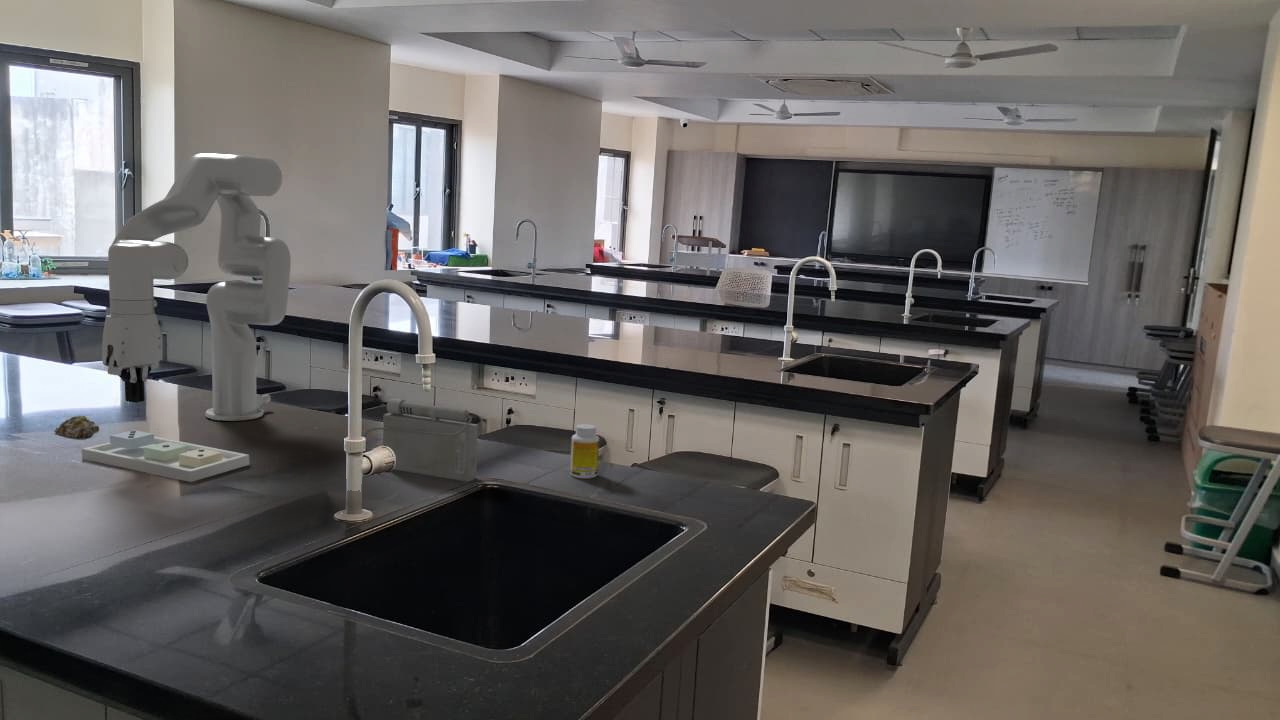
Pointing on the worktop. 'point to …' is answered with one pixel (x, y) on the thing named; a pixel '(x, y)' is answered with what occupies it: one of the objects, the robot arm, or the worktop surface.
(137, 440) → the key three dots
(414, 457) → the geiger counter
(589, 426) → the supplement bottle
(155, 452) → the key one dot
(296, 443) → the worktop surface
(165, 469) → the key panel
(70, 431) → the mineral rock
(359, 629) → the worktop surface
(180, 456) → the key two dots
